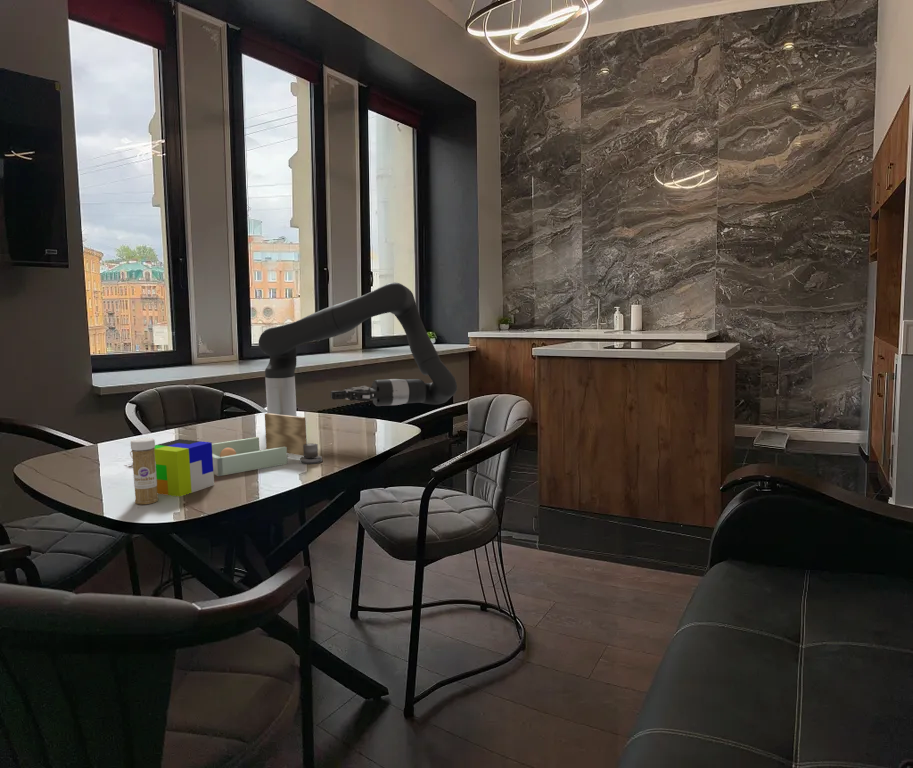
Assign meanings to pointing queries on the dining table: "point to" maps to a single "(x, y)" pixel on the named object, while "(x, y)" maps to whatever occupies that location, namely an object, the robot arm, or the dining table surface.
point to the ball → (227, 452)
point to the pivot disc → (311, 460)
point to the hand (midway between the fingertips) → (331, 395)
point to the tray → (245, 456)
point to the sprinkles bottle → (144, 470)
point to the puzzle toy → (183, 467)
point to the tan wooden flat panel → (288, 435)
